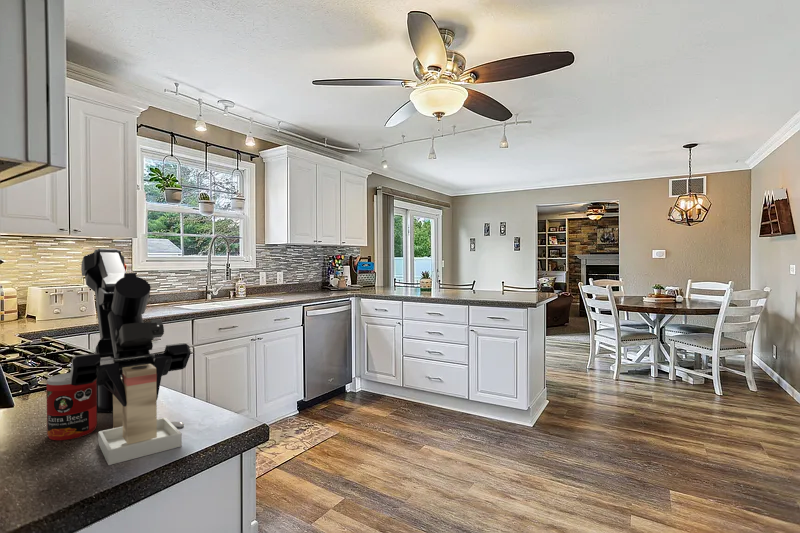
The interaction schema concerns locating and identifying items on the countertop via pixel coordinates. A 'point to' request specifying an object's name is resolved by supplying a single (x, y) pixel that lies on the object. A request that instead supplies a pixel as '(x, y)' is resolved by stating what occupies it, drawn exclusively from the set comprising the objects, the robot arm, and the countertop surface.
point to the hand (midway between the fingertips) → (141, 402)
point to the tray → (121, 451)
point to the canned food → (70, 408)
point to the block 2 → (139, 403)
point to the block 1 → (117, 413)
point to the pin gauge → (178, 424)
